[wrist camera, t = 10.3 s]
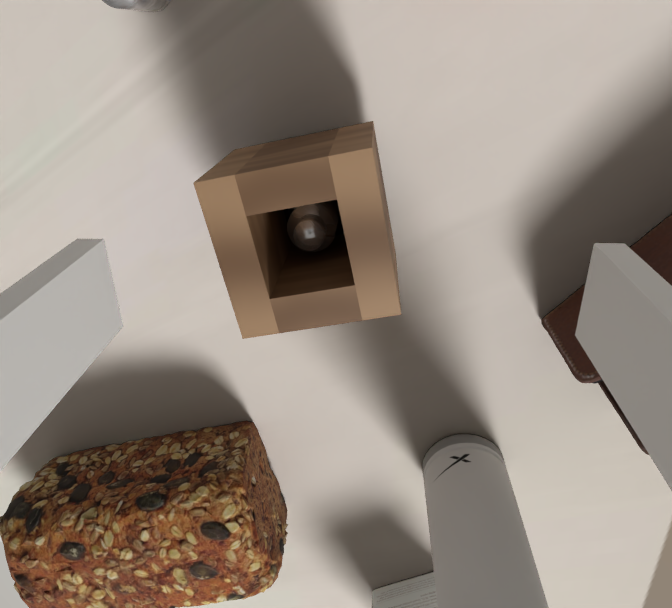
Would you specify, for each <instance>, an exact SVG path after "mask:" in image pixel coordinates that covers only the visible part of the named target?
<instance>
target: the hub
mask: <svg viewBox="0 0 672 608" xmlns="http://www.w3.org/2000/svg"><path fill="white" fill-rule="evenodd" d="M284 213H285V217H286V221H287V232H288V236H289V238H290V240H291V241H292V243H293V244H294V245H295V246H297V247H298V248H300V249H302V250H304V251H308V252H317V251H321V250H323V249H325V248H327V247H328V246H329V245H330V244H331V243H332V241H333V239H334V237H335V236H336V235H341V234H344V230H343V225H342V220H341V216H340V211H339V206H338V201H337V199H336V200H331V201H326V202H320V203H315V204H309V205H304V206H299V207H293V208H288V209H284Z"/></svg>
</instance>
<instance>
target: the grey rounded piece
mask: <svg viewBox="0 0 672 608" xmlns="http://www.w3.org/2000/svg"><path fill="white" fill-rule="evenodd" d="M102 1H103V2H105V3H106V4H107V5H109V6H111V7H114V8H119V9H129V10H138V11H147V12H158V11H161V10H163V9H164V8H165V7H166V6H167V5H168V4H169V2H170V0H102Z"/></svg>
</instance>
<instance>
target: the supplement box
mask: <svg viewBox="0 0 672 608" xmlns="http://www.w3.org/2000/svg"><path fill="white" fill-rule="evenodd" d="M372 608H438V606H437V597H436V588H435V579H434V572H431V573H428V574H425V575H421V576H418V577H414V578H411V579H408V580H404V581H401V582H397V583H394V584H391V585H388V586H384V587H381V588H378V589H375V590H373V591H372Z"/></svg>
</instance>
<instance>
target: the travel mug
mask: <svg viewBox="0 0 672 608" xmlns="http://www.w3.org/2000/svg"><path fill="white" fill-rule="evenodd" d="M422 468H423V477H424V486H425V496H426V505H427V514H428V523H429V533H430V542H431V551H432V560H433V569H434V579H435V588H436V597H437V606H438V608H549V607H548V604H547V601H546V598H545V594H544V591H543V588H542V584H541V581H540V578H539V574H538V571H537V568H536V565H535V561H534V558H533V555H532V551H531V548H530V545H529V541H528V538H527V535H526V531H525V528H524V525H523V522H522V518H521V515H520V512H519V508H518V505H517V502H516V498H515V495H514V492H513V488H512V485H511V482H510V479H509V475H508V472H507V469H506V465H505V462H504V459H503V456H502V453H501V452H500V450H499V449H498V448H497V447H496V446H495V445H494V444H493V443H492V442H490V441H489V440H487V439H485V438H482V437H480V436H476V435H470V434H460V435H453V436H449V437H447V438H444V439H442V440H440V441H439V442H437V443H436V444H434V445H433V446H432V447H431V448H430V449H429V450H428V452H427V453H426V455H425V457H424V460H423V466H422Z"/></svg>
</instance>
